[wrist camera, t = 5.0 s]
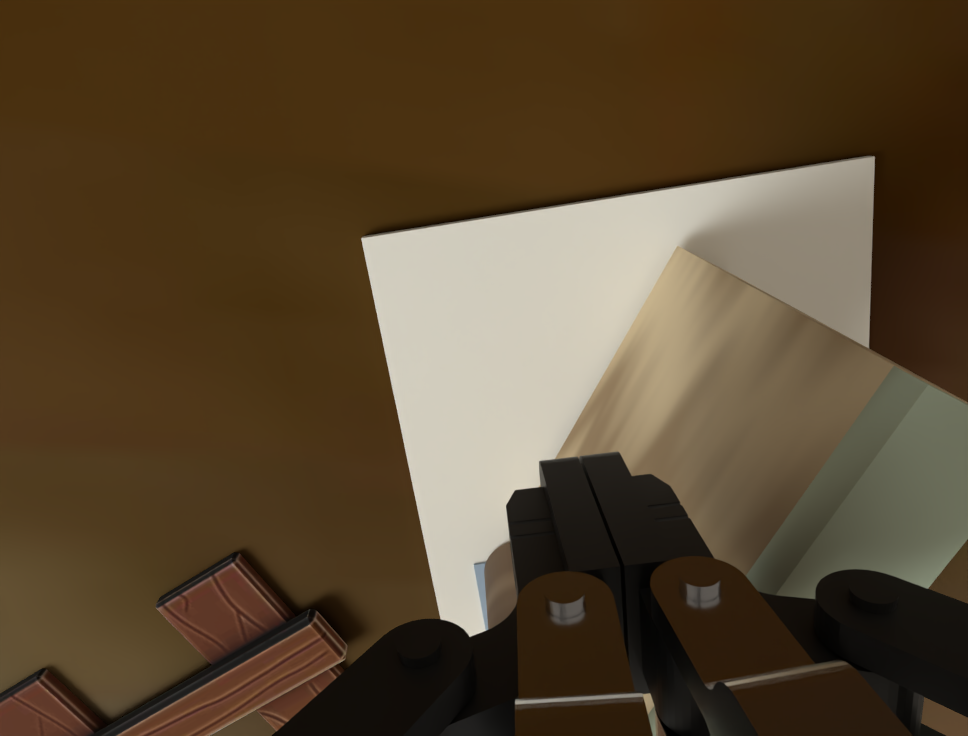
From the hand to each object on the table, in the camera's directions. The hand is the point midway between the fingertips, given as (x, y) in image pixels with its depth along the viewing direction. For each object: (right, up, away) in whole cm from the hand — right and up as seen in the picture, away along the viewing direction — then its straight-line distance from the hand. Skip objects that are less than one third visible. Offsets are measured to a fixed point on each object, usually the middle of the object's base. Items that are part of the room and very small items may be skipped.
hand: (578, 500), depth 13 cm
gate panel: (+2, +1, +9) cm, 9 cm away
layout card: (+4, -4, +12) cm, 13 cm away
